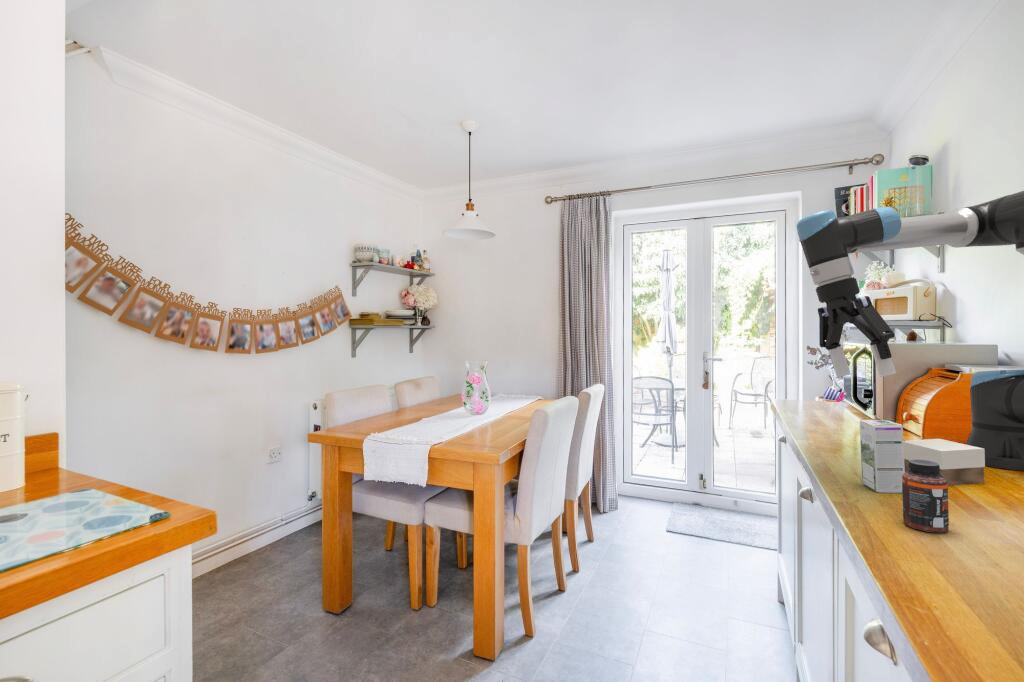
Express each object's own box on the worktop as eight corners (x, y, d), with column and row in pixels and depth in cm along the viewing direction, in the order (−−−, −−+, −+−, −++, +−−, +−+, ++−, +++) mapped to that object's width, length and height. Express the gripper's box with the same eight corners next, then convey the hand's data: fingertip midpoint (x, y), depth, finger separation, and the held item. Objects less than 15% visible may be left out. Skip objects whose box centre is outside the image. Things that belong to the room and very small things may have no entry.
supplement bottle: (953, 537, 76) (951, 468, 76) (906, 530, 79) (904, 464, 79) (944, 524, 81) (942, 459, 81) (900, 518, 84) (898, 456, 84)
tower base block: (939, 472, 111) (939, 455, 111) (984, 485, 101) (983, 467, 101) (899, 474, 110) (899, 457, 110) (940, 487, 100) (939, 469, 100)
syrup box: (907, 493, 96) (905, 424, 96) (874, 492, 97) (872, 424, 97) (890, 485, 102) (888, 419, 102) (860, 484, 103) (858, 419, 103)
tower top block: (939, 455, 111) (939, 438, 111) (985, 466, 101) (984, 448, 101) (900, 457, 110) (899, 440, 110) (941, 469, 100) (941, 451, 100)
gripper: (787, 296, 114) (813, 379, 112) (855, 272, 89) (890, 379, 87) (817, 288, 114) (844, 372, 112) (894, 262, 89) (930, 369, 87)
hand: (864, 375), depth 100 cm, fingers open, 13 cm apart
